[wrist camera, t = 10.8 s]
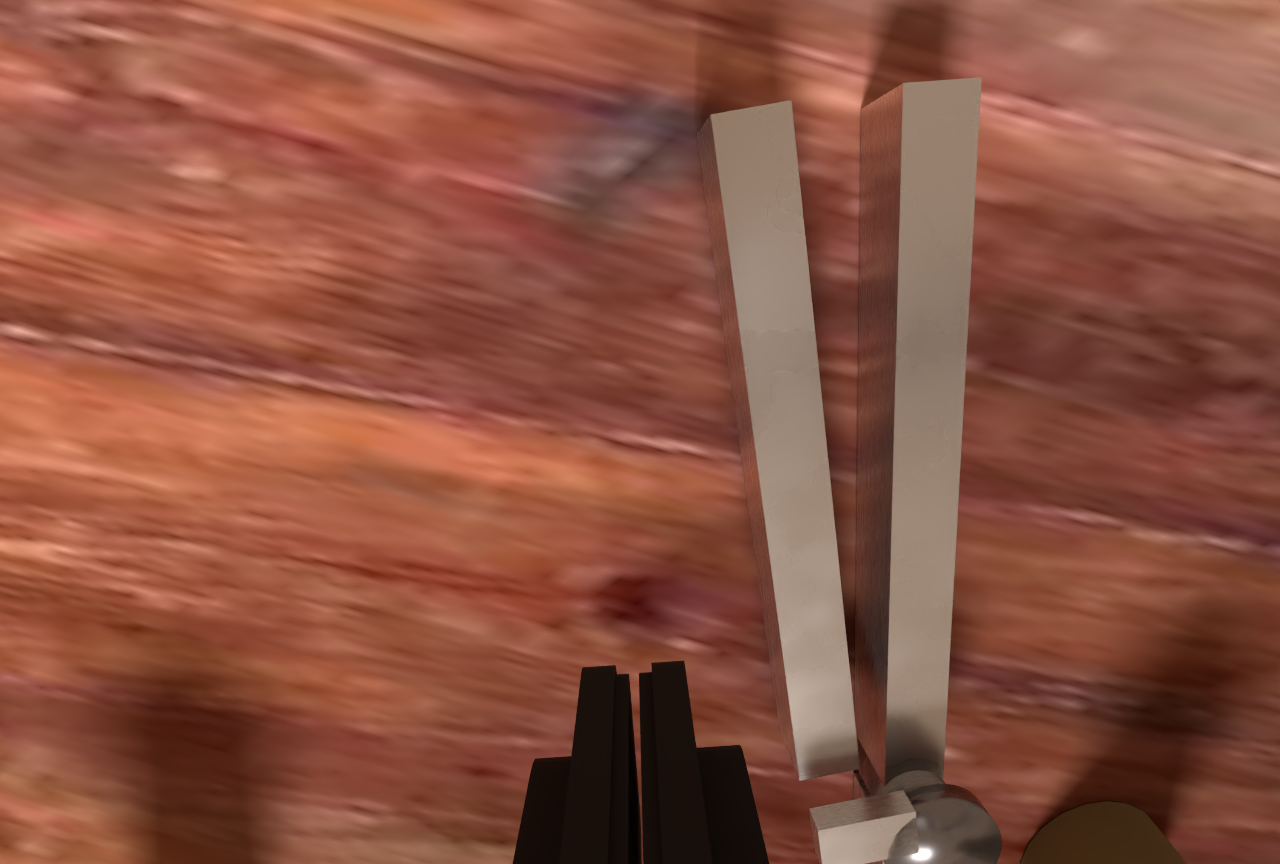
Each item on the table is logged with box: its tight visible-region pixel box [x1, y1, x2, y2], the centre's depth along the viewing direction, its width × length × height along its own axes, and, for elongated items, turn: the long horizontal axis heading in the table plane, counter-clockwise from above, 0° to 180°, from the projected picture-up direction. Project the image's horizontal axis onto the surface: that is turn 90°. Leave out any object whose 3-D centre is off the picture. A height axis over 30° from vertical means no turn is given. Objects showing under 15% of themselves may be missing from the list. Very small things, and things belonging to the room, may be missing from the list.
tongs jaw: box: [696, 100, 1002, 864], centre depth 19 cm, size 6×24×4 cm, turn 10°
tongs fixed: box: [853, 77, 982, 864], centre depth 20 cm, size 2×31×4 cm, turn 4°
